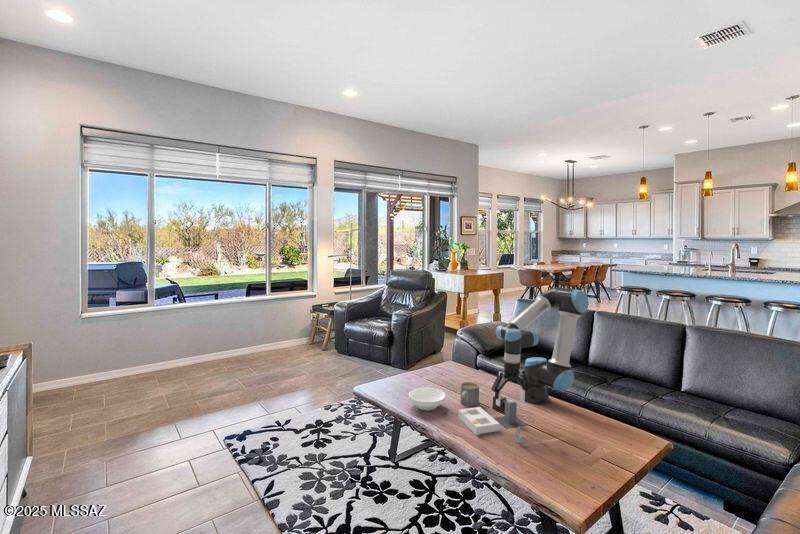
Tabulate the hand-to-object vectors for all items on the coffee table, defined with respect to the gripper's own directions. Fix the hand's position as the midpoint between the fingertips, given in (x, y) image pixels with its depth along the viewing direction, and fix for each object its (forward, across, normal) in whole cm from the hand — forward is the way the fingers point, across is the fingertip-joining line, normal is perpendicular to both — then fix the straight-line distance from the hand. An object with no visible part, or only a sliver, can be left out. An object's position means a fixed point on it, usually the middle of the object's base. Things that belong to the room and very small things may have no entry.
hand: (510, 403), depth 194 cm
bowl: (+10, +32, -28) cm, 44 cm away
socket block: (+10, +15, -3) cm, 19 cm away
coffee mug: (+10, +9, -26) cm, 30 cm away
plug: (+9, -1, 0) cm, 9 cm away
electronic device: (+10, -4, -13) cm, 17 cm away
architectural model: (+11, +1, +18) cm, 21 cm away
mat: (+10, -1, 0) cm, 10 cm away
